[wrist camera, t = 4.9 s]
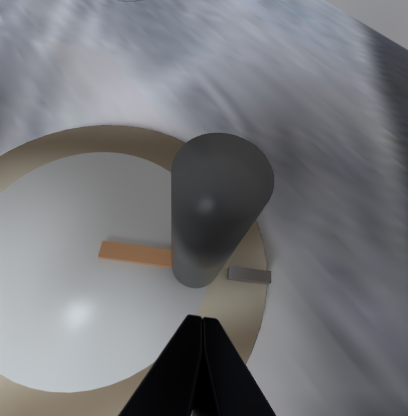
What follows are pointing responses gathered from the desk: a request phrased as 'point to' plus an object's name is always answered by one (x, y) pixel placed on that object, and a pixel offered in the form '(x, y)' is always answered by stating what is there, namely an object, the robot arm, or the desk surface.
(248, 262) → the base plate
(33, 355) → the dial
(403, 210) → the desk surface
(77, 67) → the desk surface
